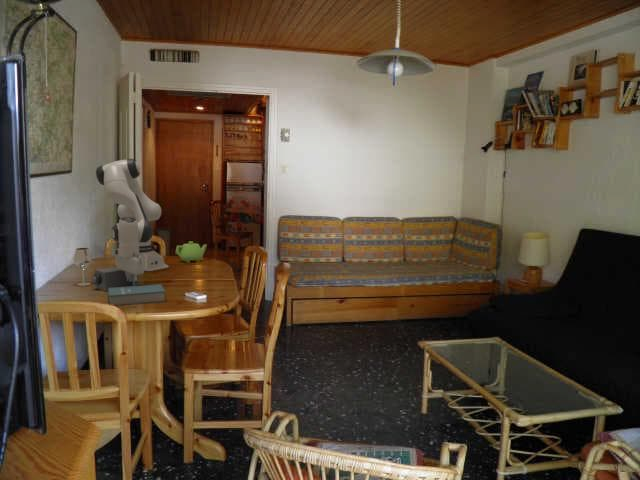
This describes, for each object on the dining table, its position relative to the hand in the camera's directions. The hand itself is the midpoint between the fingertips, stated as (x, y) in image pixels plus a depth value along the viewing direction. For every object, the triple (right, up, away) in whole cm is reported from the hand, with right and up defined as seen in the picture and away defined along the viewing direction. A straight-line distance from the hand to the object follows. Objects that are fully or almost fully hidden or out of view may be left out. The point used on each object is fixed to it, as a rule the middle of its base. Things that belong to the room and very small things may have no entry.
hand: (129, 281), depth 248 cm
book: (+8, -8, -14) cm, 18 cm away
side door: (+1, -4, +5) cm, 7 cm away
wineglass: (-28, -3, +15) cm, 32 cm away
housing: (-11, -4, +9) cm, 14 cm away
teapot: (+9, +6, +84) cm, 85 cm away
